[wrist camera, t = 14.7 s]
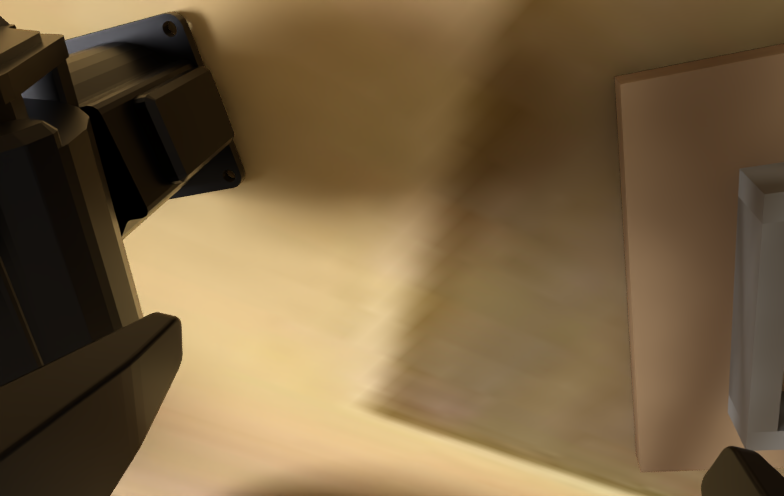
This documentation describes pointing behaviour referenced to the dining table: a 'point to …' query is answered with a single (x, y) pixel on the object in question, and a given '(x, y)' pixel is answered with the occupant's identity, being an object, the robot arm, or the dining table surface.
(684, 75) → the collar board
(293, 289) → the dining table surface
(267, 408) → the dining table surface
